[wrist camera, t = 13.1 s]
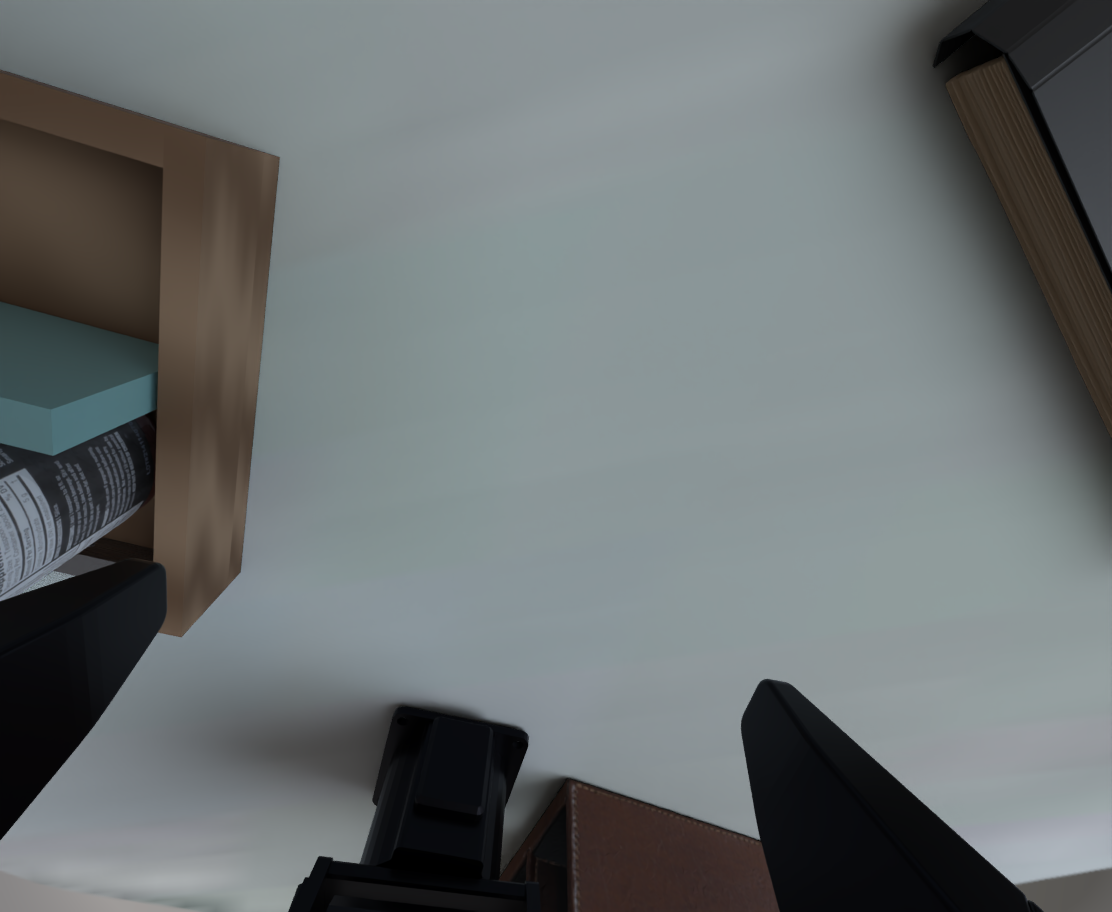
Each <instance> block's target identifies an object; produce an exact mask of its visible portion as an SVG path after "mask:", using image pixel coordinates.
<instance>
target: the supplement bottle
mask: <svg viewBox="0 0 1112 912" xmlns="http://www.w3.org/2000/svg"><path fill="white" fill-rule="evenodd" d="M156 434H157V426H156V425H155V423H154V421H153V420H152V418H151V417H150V416H149V414H148V413H147V414H145V415H142V416H140V417H138V418H136V419H134V420H131V421H129V422H127V423H125V424H122V425H120V426H118V427H116V428H114V429H111V430H109V431H107V432H105V433H103V434H100V435H98V436H96V437H94V438H91V439H89V440H87V441H85V442H83V443H80V444H78V445H76V446H74V447H72V448H69V449H67V450H65V451H63V452H60V453H58V454H56V455H54V456H52V455H48V454H44V453H40V452H36V451H31V450H27V449H23V448H19V447H15V446H11V445H7V444H2V443H0V601H2V600H5V599H8V598H11V597H14V596H17V595H19V594H20V593H22V592H23V591H25V590H26V589H28V588H29V587H30V586H32V585H33V584H35V583H36V582H38V581H39V580H41V579H42V578H43V577H45V576H46V575H48V574H49V573H51V572H52V571H54V570H55V569H56V568H58V567H60V566H61V565H62V564H64V563H65V562H66V561H68V560H69V559H71V558H72V557H74V556H75V555H76V554H78V553H79V552H81V551H82V550H84V549H85V548H86V547H91V546H94V544H92V543H94V542H95V541H97V540H98V539H100V538H101V537H102V536H104V535H106V534H107V533H108V532H110V531H111V530H113V529H114V528H115V527H117V526H118V525H120V524H121V523H123V522H124V521H125V520H127V519H128V518H129V517H130V516H132V515H133V514H134V513H135V512H136V511H138V510H139V509H141V508H142V507H143V506H145V505H146V504H147V503H148V502H149V501H150V500H151V499H152V498H153V497H154V495H155V475H156Z"/></svg>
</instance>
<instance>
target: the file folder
mask: <svg viewBox="0 0 1112 912" xmlns="http://www.w3.org/2000/svg"><path fill="white" fill-rule="evenodd" d="M974 35H977V36H979V37H980V38H982V39H984V40H985V41H987V42H988V43H990V44H991V45H993V46H995V47H996V48H998V49H999V50H1001V51H1002V52H1004V53H1003V54H1002V55H1003V56H1000V57H999V58H995V59H992V60H991V61H989V62H985V63H984V64H983V65H982V64H981V65H977V66H976V67H975V68H974V67H973V68H971V69H970V70H969V71H968V70H966V71H965V72H963V71H962V72H961V73H959V74H958V75H957V76H955V77H953V78H951V79H950V80H949V81H948V82H947V83H946V84H945V85H946V88H947V90H948V93H949V95H950V97H951V99H952V102H953V104H954V106H955V108H956V111H957V113H958V115H959V117H960V120H961V122H962V124H963V126H964V128H965V131H966V133H967V135H968V137H969V139H970V141H971V143H972V145H973V147H974V148H975V150H976V152H977V154H978V156H979V158H980V160H981V162H982V164H983V166H984V168H985V170H986V172H987V174H988V176H989V178H990V180H991V182H992V184H993V186H994V188H995V191H996V193H997V195H998V197H999V199H1000V201H1001V204H1002V206H1003V208H1004V210H1005V212H1006V214H1007V217H1008V219H1009V221H1010V223H1011V225H1012V227H1013V229H1014V232H1015V234H1016V236H1017V238H1018V240H1019V242H1020V245H1021V247H1022V249H1023V251H1024V253H1025V255H1026V257H1027V260H1028V262H1029V264H1030V266H1031V268H1032V270H1033V273H1034V275H1035V277H1036V279H1037V281H1038V283H1039V285H1040V287H1041V290H1042V292H1043V294H1044V296H1045V298H1046V300H1047V302H1048V304H1049V306H1050V309H1051V311H1052V313H1053V315H1054V317H1055V319H1056V322H1057V324H1058V326H1059V328H1060V330H1061V332H1062V335H1063V337H1064V339H1065V341H1066V343H1067V345H1068V348H1069V350H1070V352H1071V354H1072V357H1073V359H1074V361H1075V363H1076V366H1077V368H1078V370H1079V372H1080V374H1081V376H1082V378H1083V380H1084V382H1085V385H1086V387H1087V389H1088V391H1089V393H1090V395H1091V397H1092V399H1093V401H1094V403H1095V405H1096V407H1097V409H1098V411H1099V414H1100V416H1101V418H1102V420H1103V422H1104V424H1105V426H1106V428H1107V430H1108V432H1109V434H1110V436H1111V438H1112V0H989V1H988V2H987V3H986V4H984V5H983V6H982V7H981V8H980V9H978V10H977V11H976V12H975V13H974V14H972V15H971V16H970V17H969V18H967V19H966V20H965V21H964V22H963V23H961V24H960V25H959V26H958V27H957V28H955V29H954V30H953V31H952V32H950V33H949V34H948V35H947V36H946V37H944V38H943V39H942V40H941V41H940V43H939V46H938V50H937V53H936V57H935V60H934V64H933V67H934V68H935V67H936V66H938V65H939V64H940V63H941V62H942V61H944V60H945V59H946V58H947V57H949V56H950V55H951V54H952V53H953V52H955V51H956V50H957V49H958V48H960V47H961V46H962V45H963V44H965V43H966V42H967V41H968V40H969V39H971V38H972V37H973V36H974Z"/></svg>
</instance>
